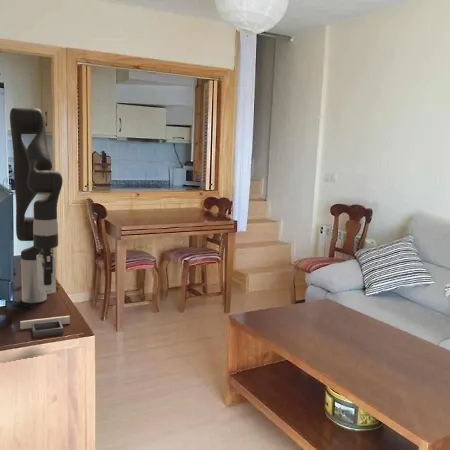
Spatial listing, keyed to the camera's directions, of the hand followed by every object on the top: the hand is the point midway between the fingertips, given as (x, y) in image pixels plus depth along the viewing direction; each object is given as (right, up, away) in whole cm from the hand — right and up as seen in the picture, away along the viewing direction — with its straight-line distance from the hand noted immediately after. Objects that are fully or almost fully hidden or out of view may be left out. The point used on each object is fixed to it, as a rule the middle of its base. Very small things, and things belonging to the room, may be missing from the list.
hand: (46, 281), depth 157 cm
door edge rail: (-3, -16, +7) cm, 18 cm away
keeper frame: (-1, -17, +3) cm, 17 cm away
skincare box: (0, -3, +1) cm, 3 cm away
